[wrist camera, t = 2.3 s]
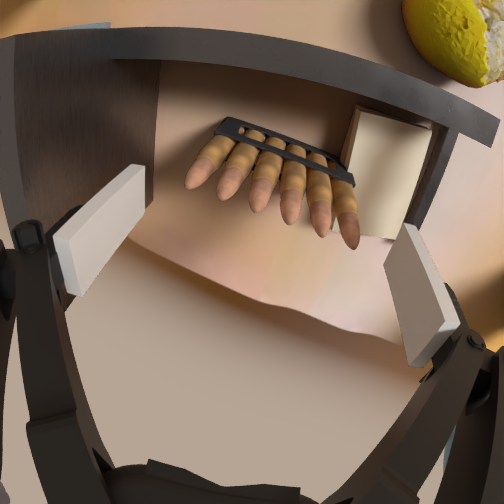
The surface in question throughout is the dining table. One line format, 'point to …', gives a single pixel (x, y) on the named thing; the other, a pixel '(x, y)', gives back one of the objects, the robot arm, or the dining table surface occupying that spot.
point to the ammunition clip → (280, 176)
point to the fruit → (459, 37)
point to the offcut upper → (384, 170)
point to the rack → (145, 108)
